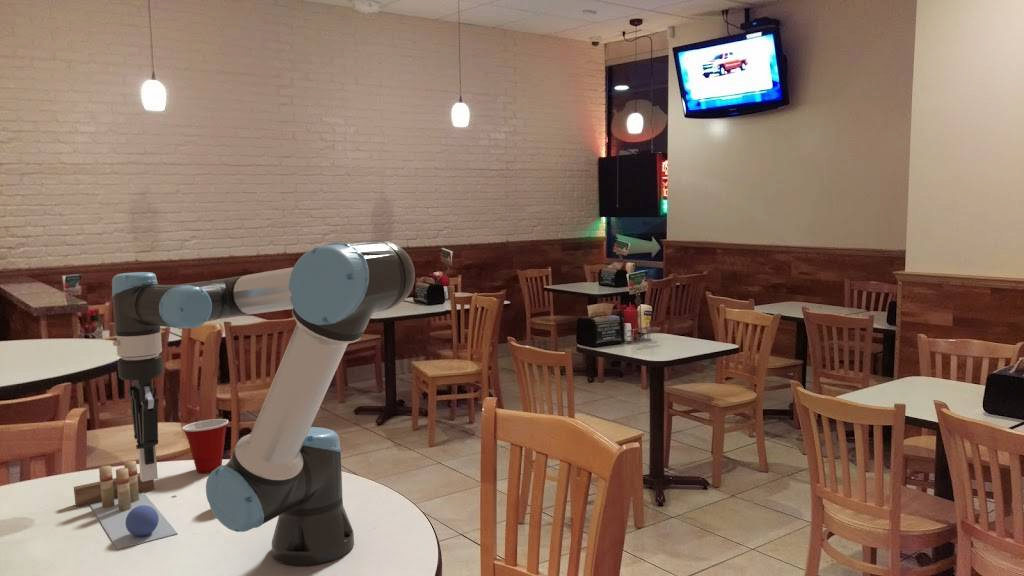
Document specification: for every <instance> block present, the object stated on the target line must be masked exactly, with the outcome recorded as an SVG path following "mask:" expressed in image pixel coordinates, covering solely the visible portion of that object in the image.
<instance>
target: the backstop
mask: <svg viewBox="0 0 1024 576" xmlns="http://www.w3.org/2000/svg"><path fill="white" fill-rule="evenodd" d="M137 479H138V492H139V493H145V492H149V491H154V490H155V482H154V480H155V479H153V480H149V481H144V482H142V481H141V480H140V472H139V473H138V472H137ZM113 492H114V499H117V498H118V493H117V483H116V477H115V478H113ZM73 493H74V494H73V495H74V504H76V505H75V506H76V507H78V506H79V507H83V506H87V504H88V505H90V504H95V503H99V502H102V497H101V485H100V480H99V481H94V482H90V483H86V484H80V485H76V486H73Z"/></svg>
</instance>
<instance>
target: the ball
mask: <svg viewBox="0 0 1024 576" xmlns="http://www.w3.org/2000/svg"><path fill="white" fill-rule="evenodd" d="M158 521H159V517H158V513H157V512H156V510H155V509H154V508H152V507H150V506H147V505H141V506H137V507H135V508H134V509H132V510H131V511H130V512H129V514H128V515H127V517H126V528H127V530H128V531H129V532H130V533H131V534H132V535H134V536H139V537H142V536H146V535H148V534H150V533H152V532H153V531H154V530H155V529H156V527H157V525H158Z"/></svg>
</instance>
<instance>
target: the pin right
mask: <svg viewBox="0 0 1024 576" xmlns="http://www.w3.org/2000/svg"><path fill="white" fill-rule="evenodd" d="M123 464H124V465H123V468H128V474H129V486H130V499H131V502H136V501H138V500H139V492H138V479H137V473H138V468H137V460H126V461H124V463H123Z"/></svg>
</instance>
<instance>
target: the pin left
mask: <svg viewBox="0 0 1024 576" xmlns="http://www.w3.org/2000/svg"><path fill="white" fill-rule="evenodd" d="M98 469H99V476H98V477H99V481H100V485H101V497H102V501H101V502H102V508H110V507H113V506H114V505H115V504H114V499H115V498H114V492H113V479H114V478H113V470H112V469H113V468H112V465H103V466H99V468H98Z"/></svg>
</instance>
